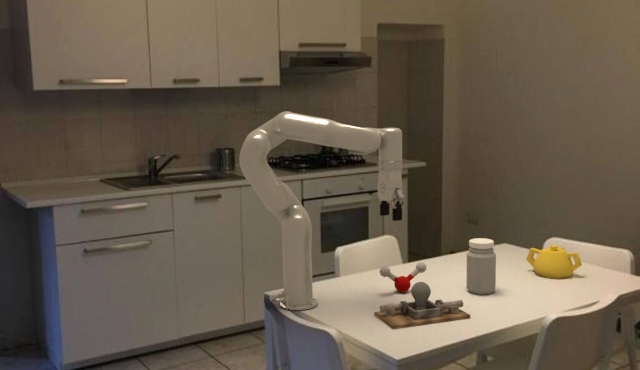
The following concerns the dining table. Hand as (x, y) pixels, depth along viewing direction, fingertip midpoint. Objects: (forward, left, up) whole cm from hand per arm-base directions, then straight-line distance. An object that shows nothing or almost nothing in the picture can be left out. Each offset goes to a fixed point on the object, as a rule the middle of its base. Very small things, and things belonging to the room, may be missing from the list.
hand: (390, 217), depth 234 cm
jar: (+33, -2, -28) cm, 44 cm away
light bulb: (+2, -18, -28) cm, 33 cm away
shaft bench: (+2, -18, -28) cm, 34 cm away
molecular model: (+8, +8, -28) cm, 31 cm away
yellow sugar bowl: (+71, +8, -29) cm, 77 cm away
